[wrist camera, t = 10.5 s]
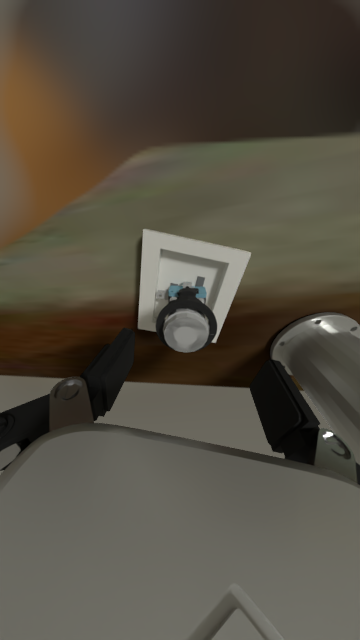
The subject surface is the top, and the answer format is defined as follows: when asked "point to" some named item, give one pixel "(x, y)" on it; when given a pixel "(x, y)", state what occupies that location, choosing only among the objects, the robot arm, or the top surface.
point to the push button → (185, 318)
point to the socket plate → (187, 273)
